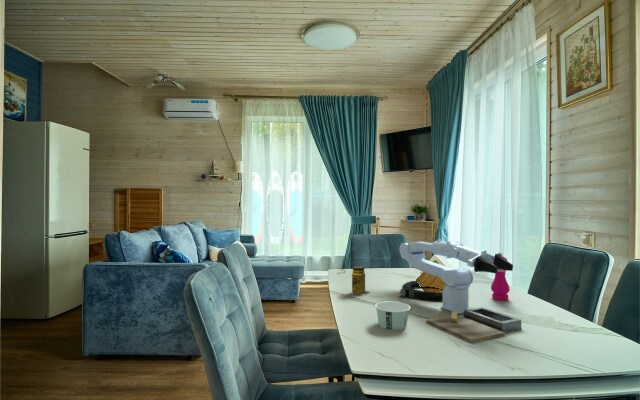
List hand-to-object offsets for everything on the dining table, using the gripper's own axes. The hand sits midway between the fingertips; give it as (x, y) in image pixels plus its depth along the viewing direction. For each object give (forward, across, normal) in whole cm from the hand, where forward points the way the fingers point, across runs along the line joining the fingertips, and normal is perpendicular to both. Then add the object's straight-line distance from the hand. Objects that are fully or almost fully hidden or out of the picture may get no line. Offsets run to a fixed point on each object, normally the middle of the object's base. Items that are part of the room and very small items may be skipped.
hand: (504, 269), depth 124 cm
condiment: (-56, -21, +28) cm, 66 cm away
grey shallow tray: (-1, -2, +20) cm, 20 cm away
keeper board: (-1, -15, +19) cm, 24 cm away
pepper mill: (-21, +28, +24) cm, 43 cm away
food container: (-14, -34, +21) cm, 42 cm away
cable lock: (-41, +8, +27) cm, 50 cm away
